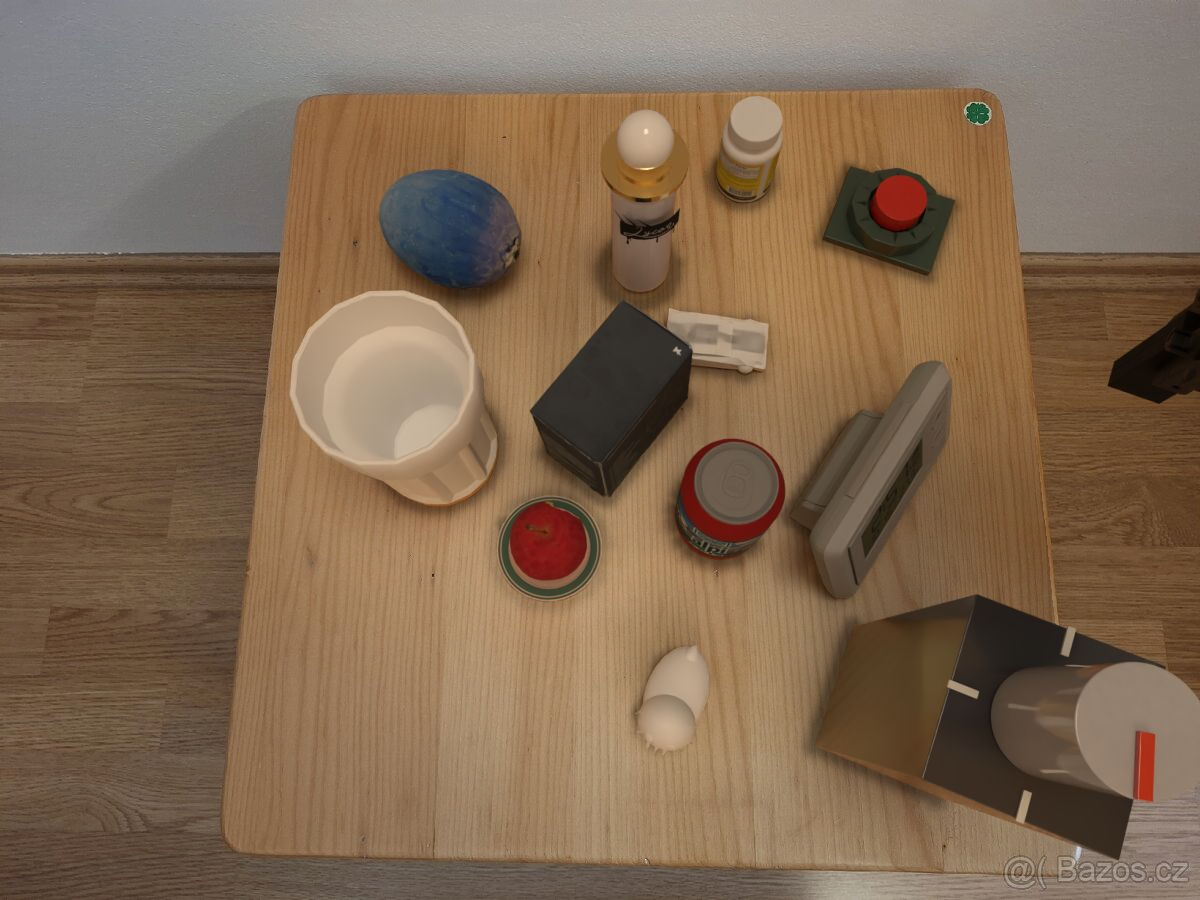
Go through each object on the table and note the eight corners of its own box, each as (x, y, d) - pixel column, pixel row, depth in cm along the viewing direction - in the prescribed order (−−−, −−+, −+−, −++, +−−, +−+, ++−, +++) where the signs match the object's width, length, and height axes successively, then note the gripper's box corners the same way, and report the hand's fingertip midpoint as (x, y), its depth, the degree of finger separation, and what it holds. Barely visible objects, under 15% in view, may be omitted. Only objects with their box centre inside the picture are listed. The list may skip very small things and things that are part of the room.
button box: (952, 204, 74) (963, 188, 72) (928, 276, 73) (938, 262, 70) (848, 170, 75) (856, 152, 73) (822, 240, 74) (829, 225, 71)
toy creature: (622, 738, 64) (621, 744, 58) (663, 634, 66) (667, 629, 60) (681, 765, 63) (687, 773, 57) (721, 658, 65) (731, 656, 59)
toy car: (668, 313, 72) (669, 302, 70) (767, 323, 72) (771, 312, 70) (662, 368, 71) (663, 357, 69) (763, 378, 71) (767, 368, 69)
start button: (926, 196, 72) (933, 184, 70) (911, 238, 71) (918, 227, 69) (878, 180, 73) (884, 168, 71) (863, 221, 72) (869, 210, 70)
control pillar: (974, 672, 64) (1171, 665, 41) (937, 798, 62) (1123, 865, 39) (852, 624, 66) (976, 590, 42) (812, 746, 64) (919, 781, 40)
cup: (525, 394, 71) (494, 303, 54) (496, 532, 68) (452, 482, 51) (388, 371, 72) (315, 275, 55) (353, 507, 69) (265, 449, 52)
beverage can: (661, 543, 68) (668, 513, 56) (690, 462, 69) (702, 417, 58) (747, 573, 67) (771, 550, 55) (773, 490, 68) (803, 450, 57)
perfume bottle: (598, 247, 74) (589, 92, 55) (666, 232, 74) (680, 72, 55) (614, 309, 73) (610, 173, 53) (683, 294, 73) (704, 152, 53)
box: (624, 350, 72) (623, 294, 62) (689, 397, 70) (700, 349, 60) (540, 450, 70) (526, 411, 60) (607, 501, 69) (603, 469, 58)
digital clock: (833, 612, 66) (872, 599, 56) (744, 526, 68) (765, 498, 57) (976, 463, 68) (1038, 424, 58) (886, 384, 70) (931, 332, 60)
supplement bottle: (753, 145, 76) (768, 81, 68) (782, 188, 75) (801, 128, 67) (704, 169, 76) (714, 107, 68) (732, 213, 74) (745, 155, 66)
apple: (489, 508, 69) (476, 490, 62) (591, 488, 69) (588, 468, 63) (507, 611, 67) (494, 603, 60) (612, 590, 67) (610, 580, 60)
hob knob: (994, 656, 42) (1082, 649, 34) (1104, 677, 41) (1219, 675, 33) (985, 767, 40) (1074, 788, 32) (1098, 790, 40) (1216, 816, 32)
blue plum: (528, 261, 63) (349, 182, 65) (520, 347, 70) (359, 272, 72) (584, 198, 68) (416, 127, 71) (571, 283, 75) (419, 216, 77)
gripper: (1495, -130, 26) (1095, 255, 49) (1425, 241, 23) (1033, 468, 46) (1776, -59, 25) (1235, 300, 48) (1741, 339, 22) (1180, 521, 45)
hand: (1136, 382), depth 47 cm, fingers closed
